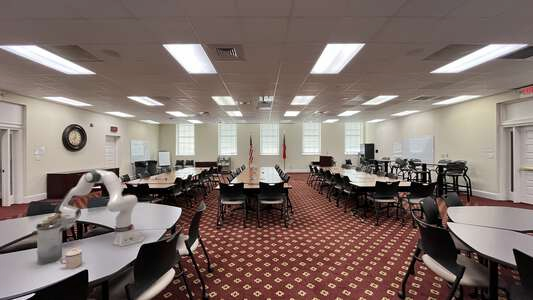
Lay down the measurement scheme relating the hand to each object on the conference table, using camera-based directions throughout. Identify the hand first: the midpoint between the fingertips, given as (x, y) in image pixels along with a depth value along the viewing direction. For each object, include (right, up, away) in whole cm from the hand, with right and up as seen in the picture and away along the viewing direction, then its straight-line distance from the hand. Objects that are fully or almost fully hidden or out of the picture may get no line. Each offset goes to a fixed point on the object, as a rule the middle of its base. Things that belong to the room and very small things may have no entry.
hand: (57, 215), depth 179 cm
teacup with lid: (+29, -29, -21) cm, 46 cm away
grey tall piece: (+7, -28, -13) cm, 32 cm away
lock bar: (+4, -2, -7) cm, 8 cm away
